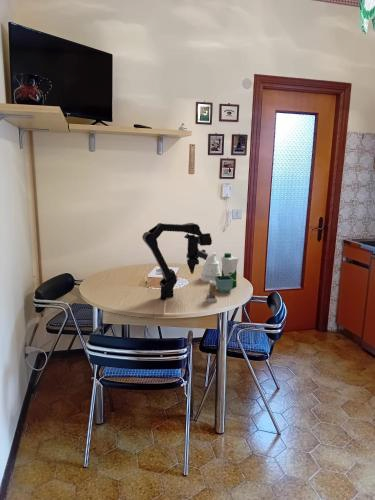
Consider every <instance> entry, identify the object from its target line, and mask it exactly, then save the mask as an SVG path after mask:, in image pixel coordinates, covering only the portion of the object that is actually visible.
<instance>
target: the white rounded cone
mask: <svg viewBox="0 0 375 500" xmlns="http://www.w3.org/2000/svg"><path fill="white" fill-rule="evenodd" d="M216 256H217V252H212V254H210V255H208V257H207V259H206V260H204V262H203V266H202V269H201V271H200V273H201V274H200V280H201V281H202V282H206V283H210V281H215V276H222V271H221V269H220V266H219V264H220V262H219V261H218V259H216Z"/></svg>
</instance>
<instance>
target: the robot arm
mask: <svg viewBox="0 0 375 500" xmlns="http://www.w3.org/2000/svg"><path fill="white" fill-rule="evenodd" d="M163 232H174V233H175V232H177V233H179V232H180V233H186V234H185V235H184V236H183V237H184V238H185V239H187V249H186V250H187V252H186V263H187V266H188V269H189V271H190V274H191V275H193V274H194V271H195V267H196V266H198V265H200V259H203V260H204V261H206V259H207V258H208V257H209V253H208V252H206V249H202V250H200V249H199V246H200V247H203V246H211V245H212V244H213V240H212V236H211V233H209V232H207V233H203V232H202V231H201V227H200V226H199V224H198V223H194V222H188V223H183V224H182V223H181V224H177V223H176V224H175V223H162V222H159V223H157V224H156V225H155V226H154V227H151V229H149V230H148V231H146V232H143V234H142V237H141V238H142V241H143V242H144V244H146V246H147V247H148V248H149V249H150V251H151V253H152V254H153V257H154V259H155V261H156V263H157V265H158V267H159V269H160V270H161V275H162V279H160V281H159V285H160V299H159V300H161V301H163V300H164V301H167V299H171V298H174V287H175V285H176V284H177V282H178V276H177V275H176V272H175V270H174V269H172V268H169V266H168V264H167V262H166V260H165V258H164V256H163V254H162V252H161V250H160V248H159V245H158V240H157V239H158V238H160V237H161V236H160V235H162V234H163ZM199 258H200V259H199Z"/></svg>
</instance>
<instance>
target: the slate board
mask: <svg viewBox="0 0 375 500" xmlns="http://www.w3.org/2000/svg"><path fill="white" fill-rule="evenodd" d="M206 299H207V303H218V298H217V296H216V298H209V293H208V294H206Z"/></svg>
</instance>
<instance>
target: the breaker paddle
mask: <svg viewBox="0 0 375 500" xmlns="http://www.w3.org/2000/svg"><path fill="white" fill-rule="evenodd" d="M208 292H209V293H208V294H209V298H216V297H217V287H216V281H210V282H209V291H208Z"/></svg>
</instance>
